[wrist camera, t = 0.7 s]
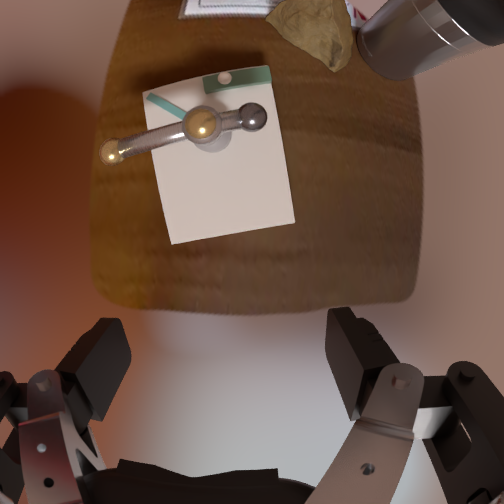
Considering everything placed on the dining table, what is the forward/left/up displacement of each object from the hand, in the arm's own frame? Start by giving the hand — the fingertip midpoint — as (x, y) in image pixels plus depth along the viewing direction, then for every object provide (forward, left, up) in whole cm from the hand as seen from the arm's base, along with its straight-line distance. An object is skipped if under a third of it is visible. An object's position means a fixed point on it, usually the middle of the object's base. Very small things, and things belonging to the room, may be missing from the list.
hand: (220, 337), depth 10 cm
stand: (+1, -8, -24) cm, 25 cm away
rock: (-12, -21, -24) cm, 34 cm away
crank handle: (+3, -10, -19) cm, 22 cm away
